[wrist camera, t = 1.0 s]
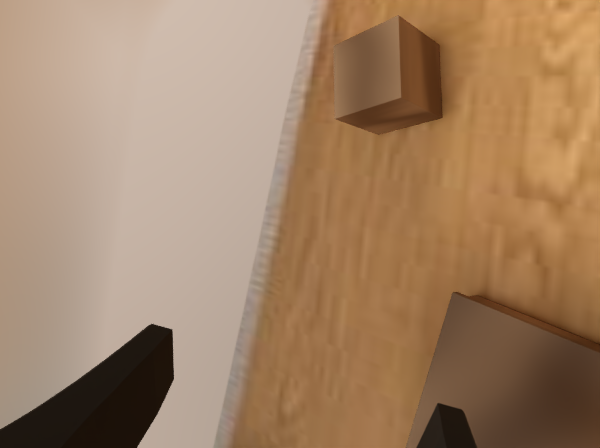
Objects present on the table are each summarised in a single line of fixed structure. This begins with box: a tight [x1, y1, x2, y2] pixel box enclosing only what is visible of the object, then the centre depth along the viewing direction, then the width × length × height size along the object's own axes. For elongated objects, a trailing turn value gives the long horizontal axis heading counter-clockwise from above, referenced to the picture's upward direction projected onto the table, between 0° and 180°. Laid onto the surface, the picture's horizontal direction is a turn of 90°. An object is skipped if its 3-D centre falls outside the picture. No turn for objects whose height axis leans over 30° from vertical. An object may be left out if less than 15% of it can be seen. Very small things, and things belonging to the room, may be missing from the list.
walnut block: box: [334, 15, 442, 135], centre depth 26 cm, size 4×4×4 cm
